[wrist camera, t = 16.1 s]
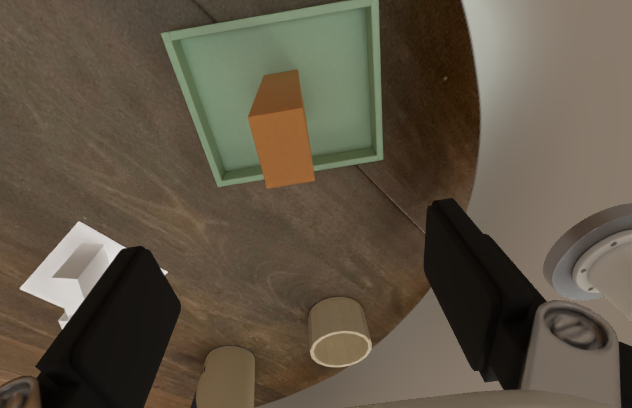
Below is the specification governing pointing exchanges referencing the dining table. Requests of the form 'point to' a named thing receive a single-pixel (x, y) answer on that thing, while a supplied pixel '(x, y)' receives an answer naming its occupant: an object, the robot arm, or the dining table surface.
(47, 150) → the dining table surface
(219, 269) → the dining table surface
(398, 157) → the dining table surface
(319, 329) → the cup
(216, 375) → the coffee cup
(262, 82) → the orange rectangular bar
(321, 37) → the tray
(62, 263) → the napkin holder
